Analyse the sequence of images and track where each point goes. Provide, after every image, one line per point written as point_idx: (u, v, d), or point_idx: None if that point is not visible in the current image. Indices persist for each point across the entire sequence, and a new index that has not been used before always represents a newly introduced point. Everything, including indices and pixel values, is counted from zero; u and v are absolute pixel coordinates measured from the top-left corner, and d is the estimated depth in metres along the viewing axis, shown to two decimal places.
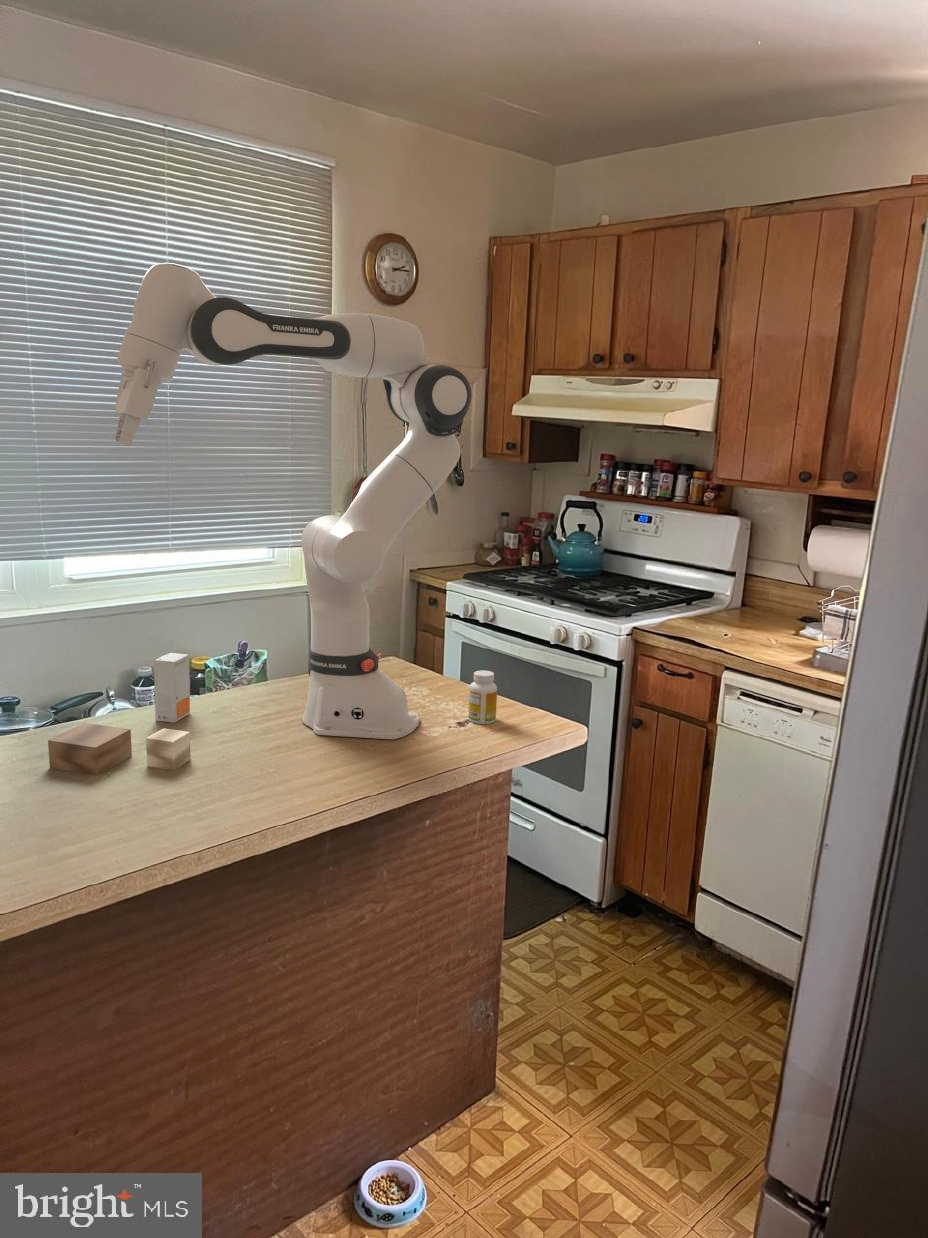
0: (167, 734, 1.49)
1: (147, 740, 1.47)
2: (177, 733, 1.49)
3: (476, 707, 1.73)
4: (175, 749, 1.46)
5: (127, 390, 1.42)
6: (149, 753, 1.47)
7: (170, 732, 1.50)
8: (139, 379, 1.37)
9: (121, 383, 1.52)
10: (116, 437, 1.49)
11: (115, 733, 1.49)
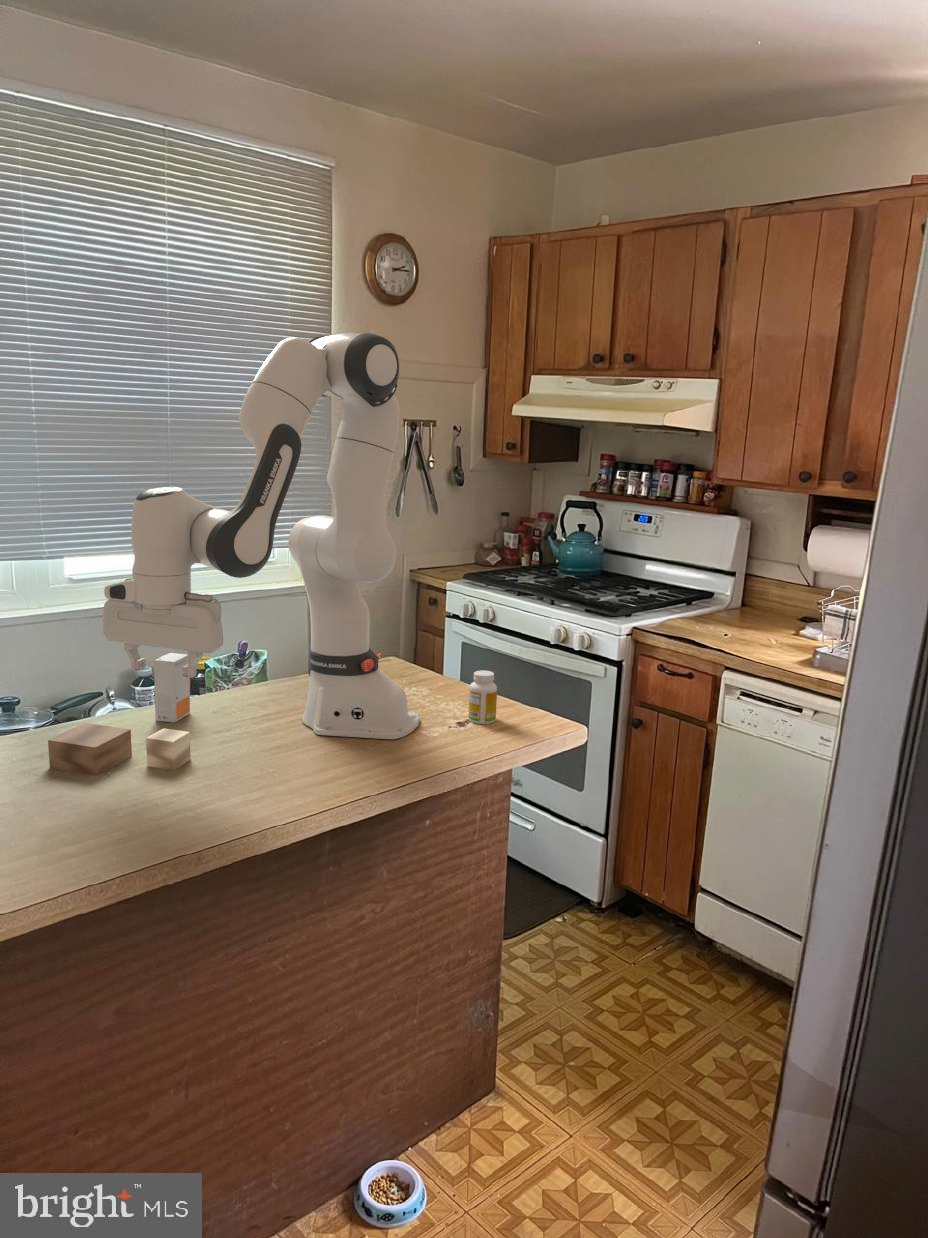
0: (167, 734, 1.49)
1: (147, 740, 1.47)
2: (177, 733, 1.49)
3: (476, 707, 1.73)
4: (175, 749, 1.46)
5: (172, 627, 1.42)
6: (149, 753, 1.47)
7: (170, 732, 1.50)
8: (211, 619, 1.40)
9: (110, 613, 1.44)
10: (139, 668, 1.46)
11: (115, 733, 1.49)
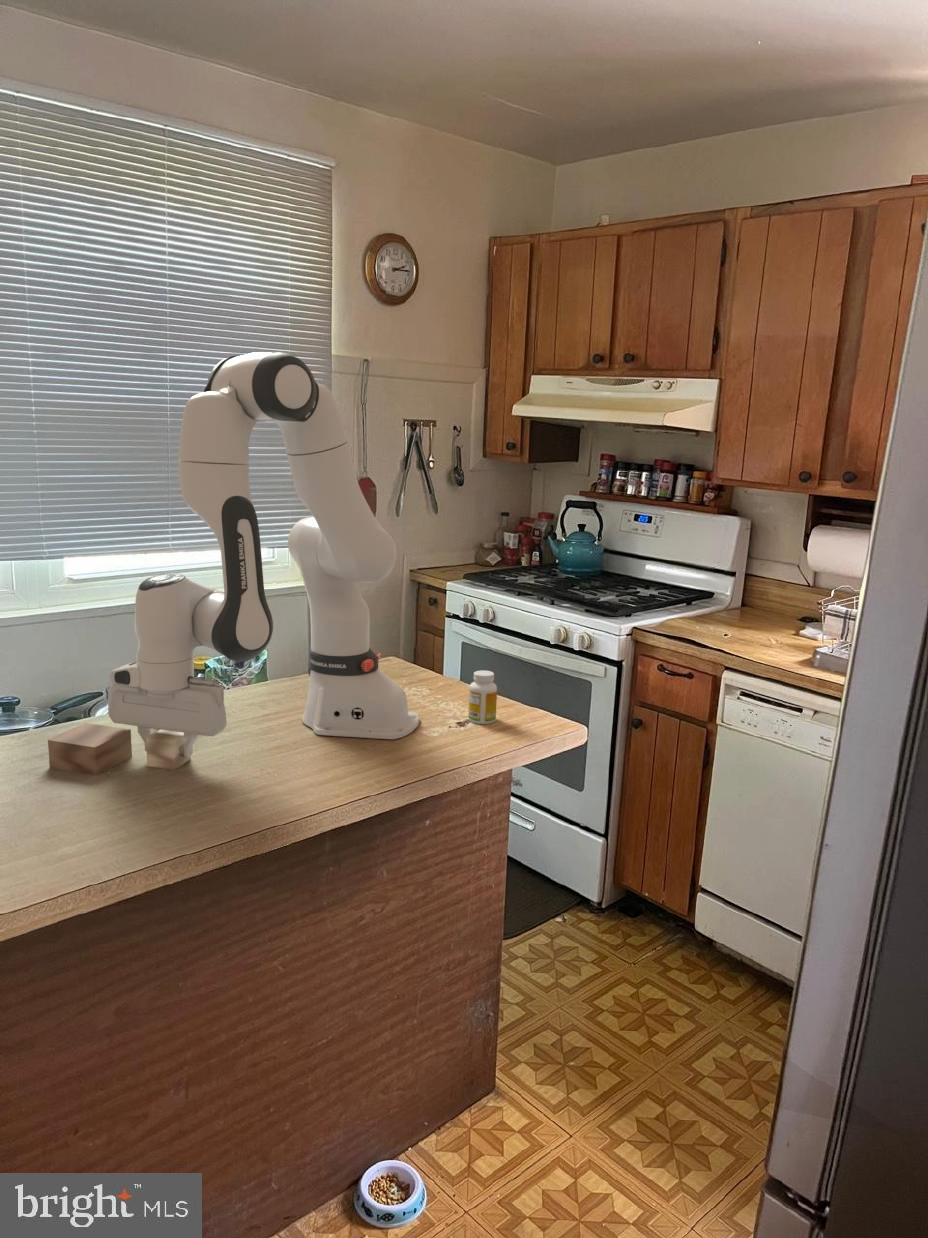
0: (167, 733, 1.49)
1: (147, 739, 1.47)
2: (177, 732, 1.49)
3: (476, 707, 1.73)
4: (175, 748, 1.46)
5: (176, 711, 1.45)
6: (149, 752, 1.47)
7: (170, 731, 1.50)
8: (214, 704, 1.43)
9: (115, 697, 1.47)
10: None
11: (115, 733, 1.49)
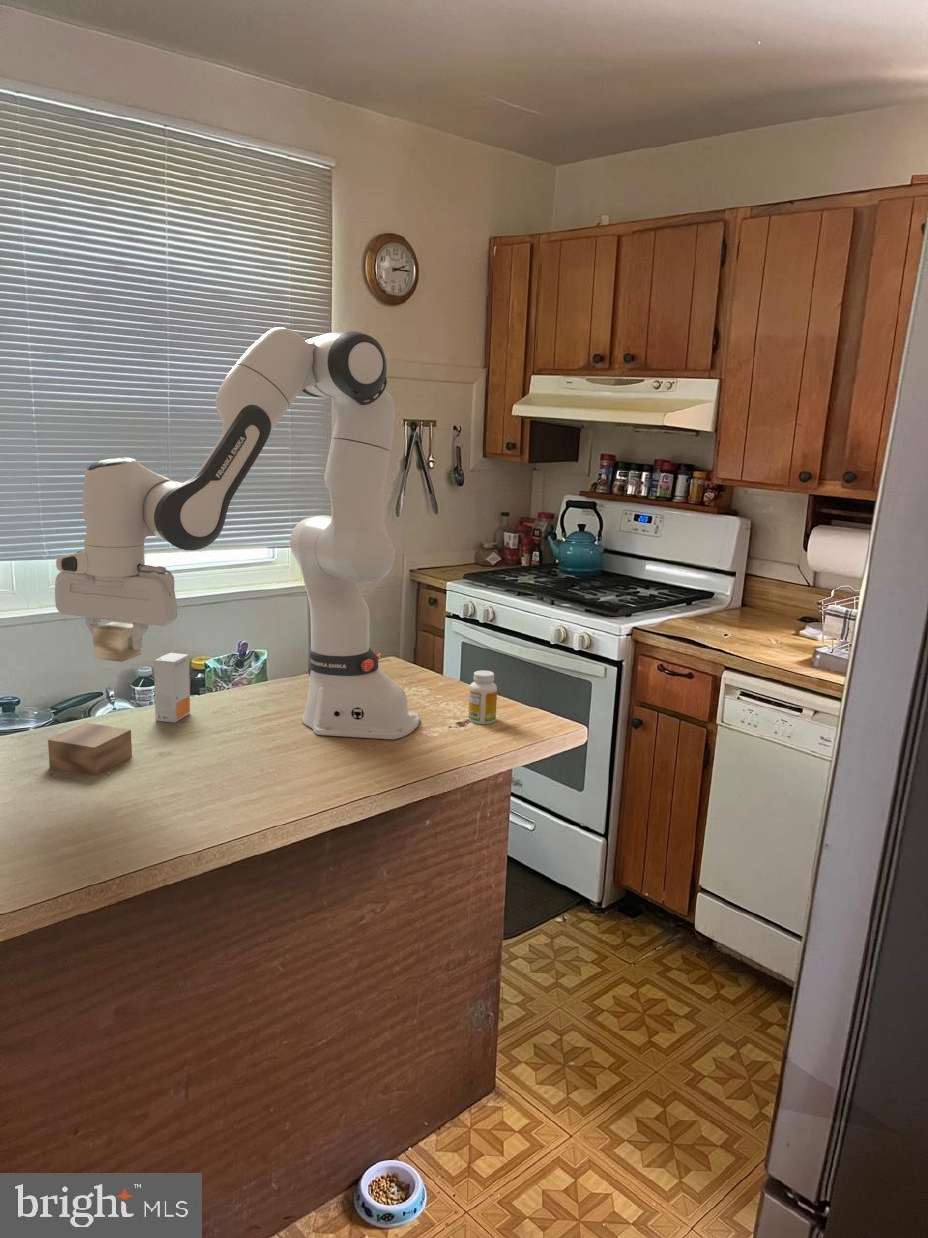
0: (115, 625, 1.44)
1: (94, 630, 1.42)
2: (126, 625, 1.44)
3: (476, 707, 1.73)
4: (123, 639, 1.41)
5: (124, 600, 1.40)
6: (96, 644, 1.42)
7: (119, 624, 1.45)
8: (164, 591, 1.39)
9: (62, 586, 1.42)
10: None
11: (115, 733, 1.49)
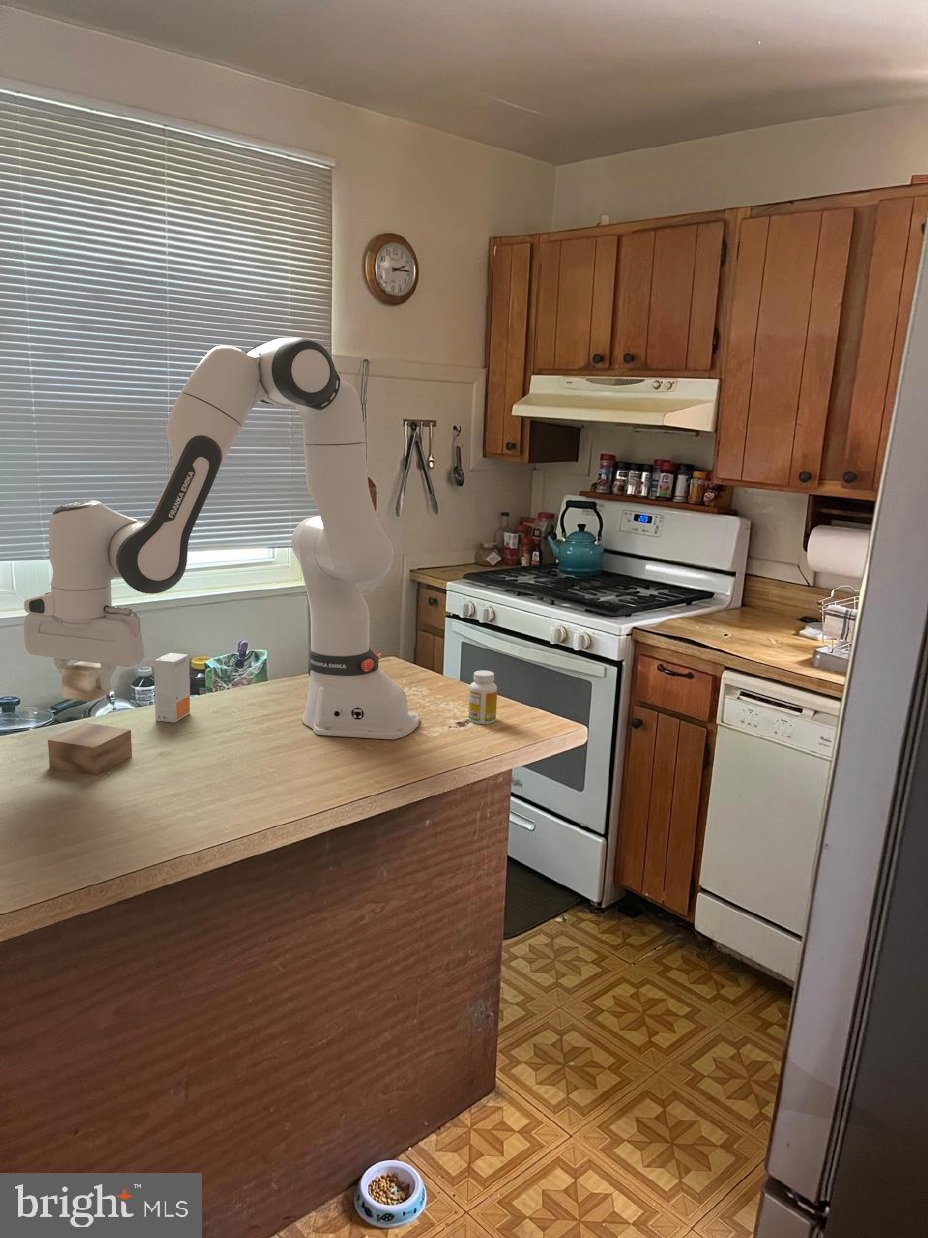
0: (84, 665, 1.45)
1: (63, 670, 1.43)
2: (95, 665, 1.46)
3: (476, 707, 1.73)
4: (91, 680, 1.43)
5: (91, 641, 1.42)
6: (65, 684, 1.44)
7: (88, 664, 1.46)
8: (130, 633, 1.40)
9: (30, 627, 1.44)
10: None
11: (115, 733, 1.49)
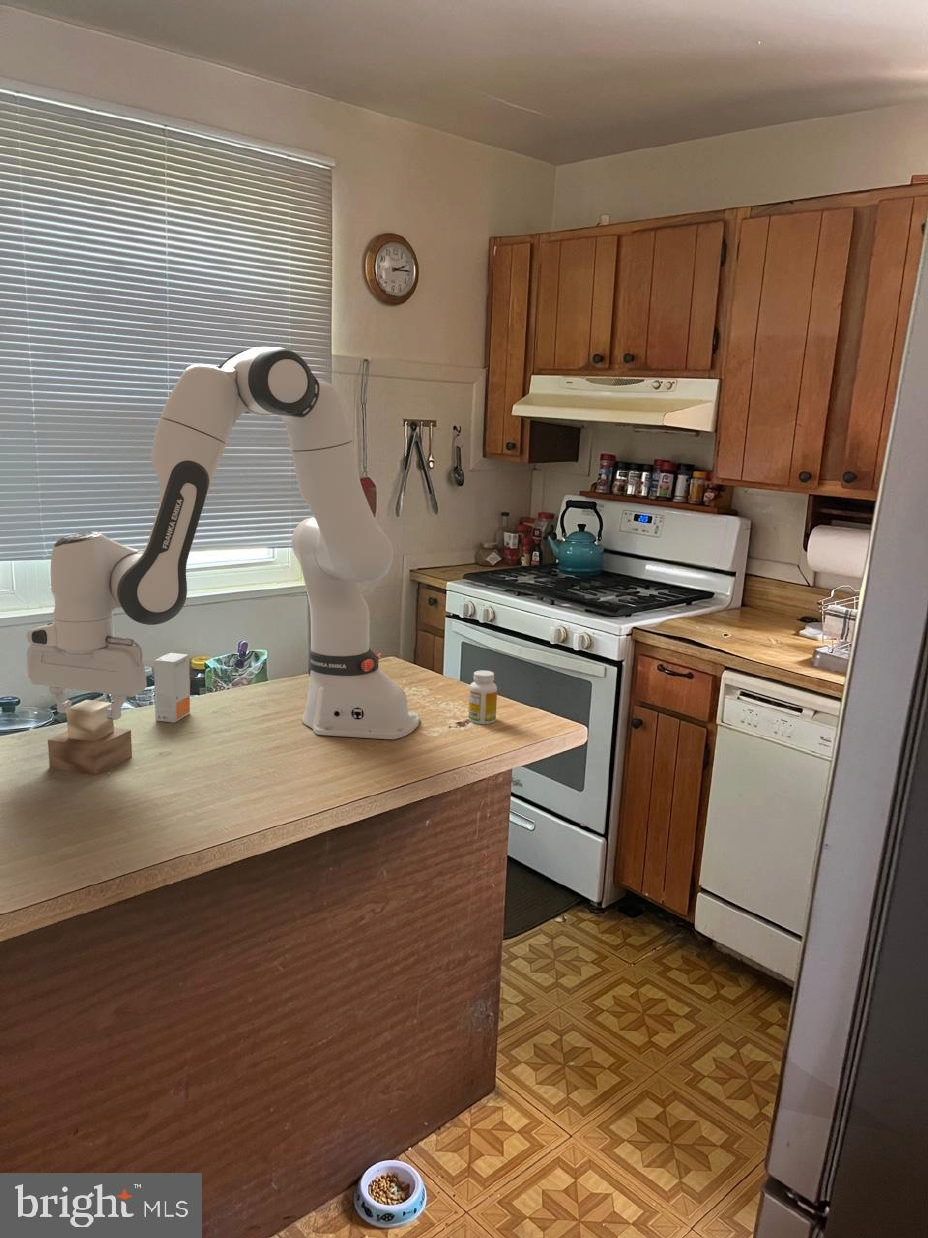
0: (88, 705, 1.47)
1: (67, 711, 1.45)
2: (99, 704, 1.47)
3: (476, 707, 1.73)
4: (95, 720, 1.44)
5: (94, 671, 1.43)
6: (70, 724, 1.45)
7: (92, 703, 1.48)
8: (132, 663, 1.41)
9: (33, 657, 1.45)
10: (65, 710, 1.47)
11: (115, 733, 1.49)
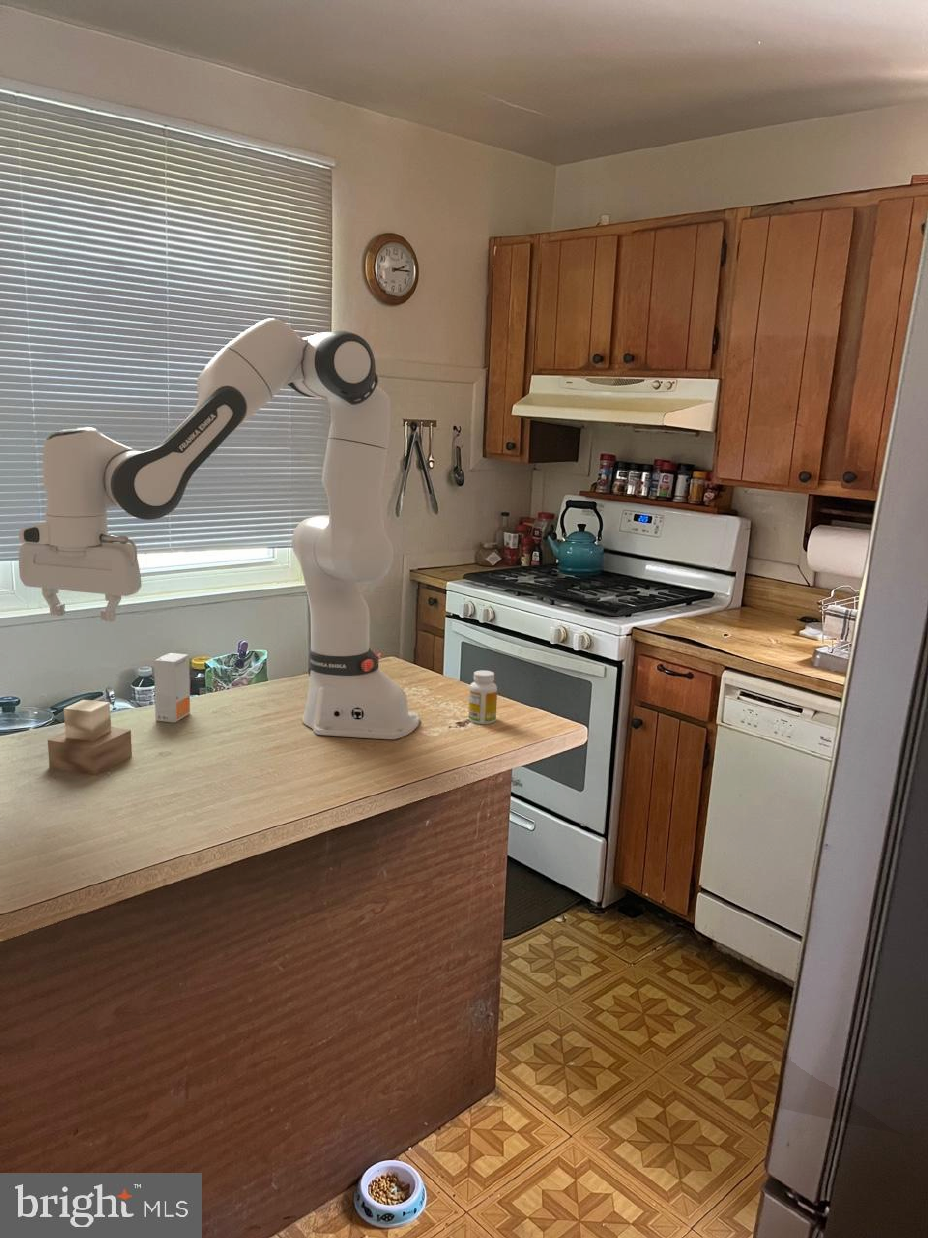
0: (85, 704, 1.47)
1: (65, 711, 1.45)
2: (96, 704, 1.48)
3: (476, 707, 1.73)
4: (93, 719, 1.45)
5: (87, 570, 1.40)
6: (67, 724, 1.45)
7: (89, 703, 1.48)
8: (127, 561, 1.38)
9: (26, 558, 1.42)
10: (58, 613, 1.44)
11: (115, 733, 1.49)
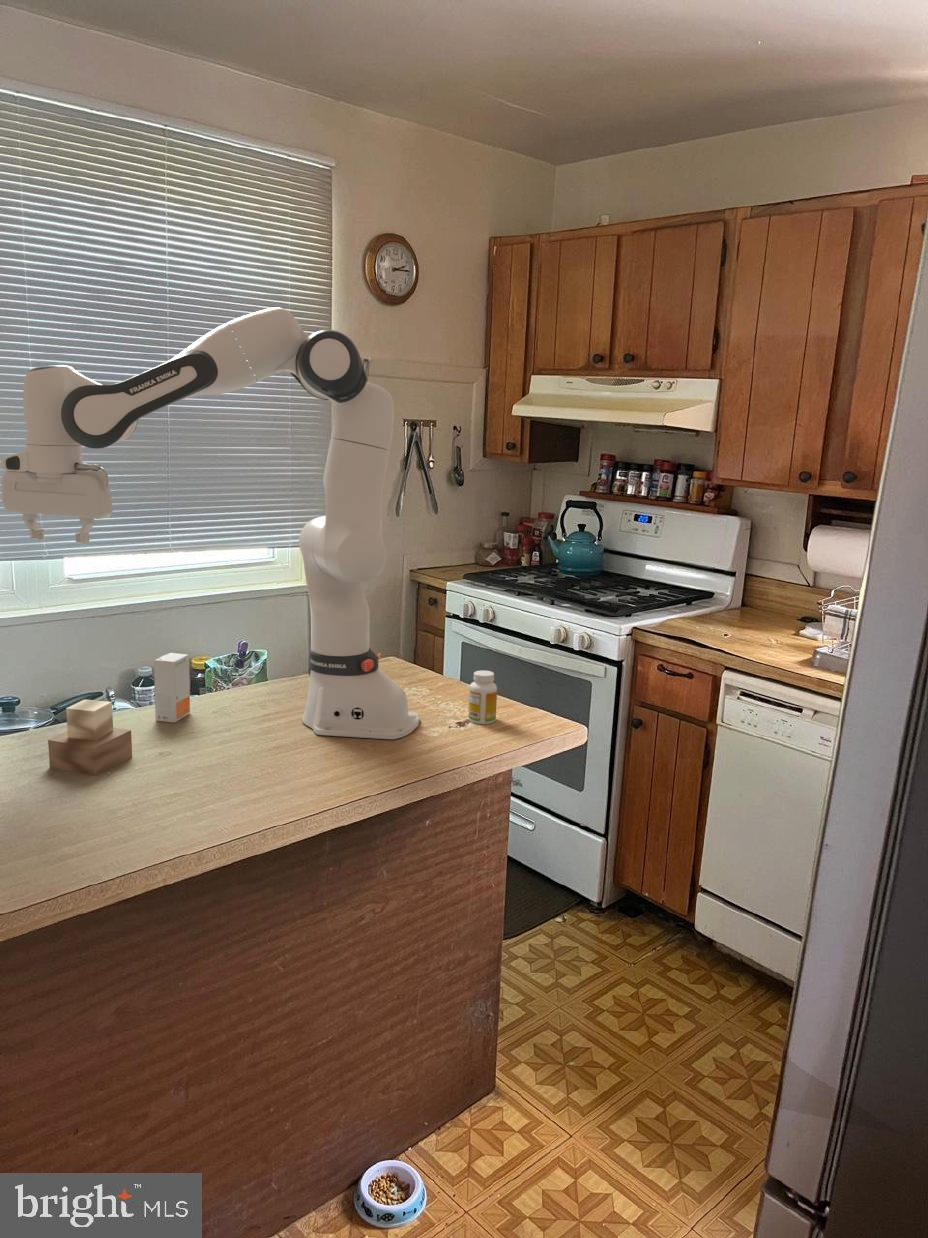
0: (88, 704, 1.47)
1: (67, 710, 1.45)
2: (98, 703, 1.48)
3: (476, 707, 1.73)
4: (96, 719, 1.45)
5: (63, 495, 1.54)
6: (70, 724, 1.45)
7: (91, 702, 1.48)
8: (99, 486, 1.52)
9: (8, 485, 1.56)
10: (37, 536, 1.58)
11: (115, 733, 1.49)
